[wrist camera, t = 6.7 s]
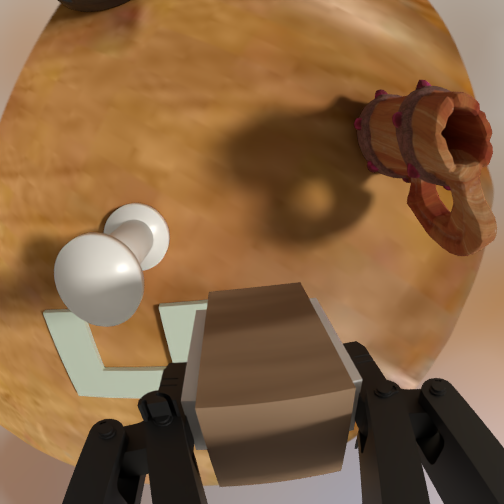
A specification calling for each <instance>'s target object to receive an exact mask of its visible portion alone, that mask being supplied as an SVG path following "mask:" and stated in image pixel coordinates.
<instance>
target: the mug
mask: <svg viewBox="0 0 504 504" xmlns="http://www.w3.org/2000/svg"><path fill="white" fill-rule="evenodd" d="M354 127H355V128H356V129H357V137H358V143H359V146H360V149H361V151H362V153H363V156H364V157H365V159H366V160H367V167H368V170H369V171H371V172H374V173H375V172H377V171H378V172H379V173H380V174H383V175H386V176H389V177H393V178H402V179H403V181H405V182H406V183H411V186H410V191H409V195H408V198H407V204H408V206H409V207H410V208H411V210H412V211H413V212H414V214H415V216H416V217H417V219H418V220H419V222H420V223H421V225H422V226H423V228H424V229H425V231H426V232H427V233H428V234H429V236H430V237H431V238H432V239H433V240H435V241H436V242H437V243H438V244H439V245H440V246H441V247H442V248H444V249H445V250H447V251H448V252H449V253H452V254H454V255H457V256H468V255H470V254H474V253H475V252H477V251H480V250H481V249H483V248H484V247H485V246H487V245H488V244H489V243H491V242H492V241H493V240H494V239H495V236H496V233H497V226H496V221H495V217H494V215H493V213H492V211H491V209H490V207H489V205H488V204H487V202H486V200H485V198H484V195H483V191H482V187H481V182H480V177H479V176H480V175H481V168H482V167H486V166H487V165H488V164H489V163H490V160H491V157H492V154H493V150H492V145H491V143H490V138H491V135H492V129H491V126H490V123H489V122H488V120H487V119H486V115H485V113H484V112H482V111H480V107H479V103H478V102H477V100H475V99H474V98H473V97H472V96H470V95H468V94H465V93H463V92H451V91H449V90H447V89H444V88H441V87H437V86H431V85H430V83H428V82H427V81H425V80H419V82H418V84H417V87H416V90H415V91H413V92H411V93H410V94H409V95H408V96H403V97H402V96H399V95H390V94H387V92H385V91H384V90H377V91H376V93H375V99H374V100H372V101H371V102H370V103H368V104H367V105H366V106H365V107H364V109H363V111H362V112H361V115H360V117H359V118H357V119H356V120H355V123H354ZM436 185H440V186H443V187H444V188H445V189H446V190H451V192H452V197H453V208H452V211H451V212H450V211H449V210H448V209H447V208H446V206H445V205H444V204H443V203H442V201H441V200H440V198H439V195H438V193H437V190H436Z"/></svg>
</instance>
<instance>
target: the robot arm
mask: <svg viewBox="0 0 504 504" xmlns="http://www.w3.org/2000/svg"><path fill="white" fill-rule="evenodd" d="M58 1H59V2H61V3H62V4H63V5H65V6H66V7H68V8H70V9H73V10H76V11H83V12H92V11H100V10H105V9H109V8H112V7H115V6H118V5H120V4H123V3H125V2H127V1H129V0H58ZM310 301H311V303H312V305H313V307H314V309H315V311H316V312H317V314H318V316H319V318H320V320H321V322H322V324H323V326H324V327H325V329H326V331H327V333H328V335H329V337H330V339H331V341H332V343H333V345H334V346H335V348H336V350H337V352H338V354H339V356H340V358H341V360H342V362H343V364H344V366H345V368H346V370H347V371H348V373H349V375H350V377H351V379H352V381H353V383H354V385H355V387H356V390H355V397H354V404H353V410H352V416H351V422H350V428H349V431H351V430H354V425H355V421H356V424H357V426H358V428H359V431H358V435H357V440H356V444H355V449H357V448H358V449H359V460H360V474H361V487H362V504H430V501H429V496H428V491H427V486H426V481H425V477H424V472H423V468H422V465H423V467H424V469H425V470H426V472H427V474H428V476H429V478H430V479H431V481H432V483H433V485H434V487H435V488H436V490H437V492H438V494H439V496H440V497H441V499H442V501H443V503H444V504H504V448H503V446H502V445H501V444H500V443H499V441H498V440H497V439H496V438H495V436H494V435H493V434H492V433H491V431H490V430H489V429H488V428H487V426H486V425H485V424H484V423H483V421H482V420H481V419H480V418H479V417H478V415H477V414H476V413H475V412H474V410H473V409H472V408H471V407H470V406H469V404H468V403H467V402H466V401H465V400H464V398H463V397H462V396H461V395H460V394H459V393H458V391H457V390H456V389H455V388H454V387H453V386H452V384H450V383H449V382H448V381H446V380H444V379H440V378H434V379H429V380H427V381H425V382H424V383H423V385H422V387H421V389H410V390H407V389H400V387H399V385H397V384H396V383H394V382H392V381H389V380H386V378H385V377H384V375H383V374H382V372H381V371H380V369H379V368H378V366H377V365H376V363H375V361H373V358H372V357H371V355H369V352H368V351H367V349H366V348H365V346H363V345H361V344H360V343H358V342H357V341H355V342H349V343H344V344H342V342H341V340H340V338H339V337H338V335H337V333H336V331H335V330H334V328H333V326H332V324H331V323H330V321H329V319H328V317H327V316H326V314H325V312H324V311H323V309H322V307H321V305H320V304H319V302H318V300H317V299H316V298H310ZM206 310H207V309H205V310H196V314H195V319H194V325H193V331H192V336H191V342H190V348H189V354H188V360H187V362H179V363H169V364H168V366H167V367H166V368H165V369H164V370H163V374H162V378H161V381H160V387H159V389H158V390H155V391H152V392H148V393H147V394H145V395H143V396H142V397H141V398H140V400H139V402H138V408H139V410H140V413H141V415H142V418H143V420H144V421H142V422H140V423H137V424H133V425H128V426H124V427H123V425H122V423H120V422H119V421H117V420H114V419H104V420H101V421H99V422H97V423H96V424H95V425H93V427H92V428H91V430H90V432H89V434H88V437H87V439H86V442H85V444H84V447H83V449H82V452H81V454H80V457H79V459H78V462H77V465H76V467H75V470H74V473H73V475H72V478H71V480H70V483H69V486H68V489H67V491H66V494H65V497H64V500H63V503H62V504H140V503H141V497H142V491H143V487H144V482H145V477H146V474H149V480H150V488H151V495H152V503H153V504H208V503H207V499H206V496H205V492H204V488H203V485H202V481H201V477H200V473H199V469H198V466H197V462H196V458H195V455H194V452H193V450H194V444H195V447H196V450H207V447H206V444H205V441H204V437H203V434H202V431H201V427H200V424H199V421H198V417H197V414H196V410H195V403H196V394H197V385H198V376H199V367H200V358H201V350H202V342H203V334H204V326H205V318H206ZM421 463H422V464H421Z"/></svg>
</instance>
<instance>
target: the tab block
mask: <svg viewBox="0 0 504 504" xmlns="http://www.w3.org/2000/svg"><path fill="white" fill-rule="evenodd" d="M355 390H356V387H355V385H354V383H353V381H352V379H351V377H350V375H349V373H348V371H347V370H346V368H345V366H344V364H343V362H342V360H341V358H340V356H339V354H338V352H337V350H336V348H335V346H334V345H333V343H332V341H331V339H330V337H329V335H328V333H327V331H326V329H325V327H324V326H323V324H322V322H321V320H320V318H319V316H318V314H317V312H316V311H315V309H314V307H313V305H312V303H311V301H310V299H309V298H308V296H307V294H306V292H305V290H304V288H303V286H302V285H301V283H300V282H298V283H290V284H281V285H272V286H263V287H253V288H244V289H234V290H224V291H213V292H209V295H208V303H207V310H206V318H205V326H204V334H203V342H202V350H201V358H200V367H199V376H198V385H197V394H196V403H195V410H196V414H197V417H198V421H199V424H200V427H201V431H202V434H203V437H204V441H205V444H206V447H207V450H208V453H209V456H210V460H211V463H212V466H213V469H214V472H215V475H216V477H217V480H218V483H219V486H220V487H226V486H242V485H254V484H263V483H273V482H281V481H287V480H294V479H301V478H306V477H312V476H318V475H323V474H328V473H333V472H337V471H341V469H342V464H343V459H344V454H345V449H346V444H347V439H348V434H349V428H350V422H351V416H352V410H353V404H354V397H355Z"/></svg>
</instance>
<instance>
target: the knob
mask: <svg viewBox="0 0 504 504" xmlns="http://www.w3.org/2000/svg"><path fill="white" fill-rule="evenodd" d="M169 241H170V234H169V228H168V225H167V223H166V221H165V219H164V218H163V216H162V215H161V214H160V213H159V212H158V211H157V210H156V209H154V208H153V207H151V206H149V205H146V204H143V203H130V204H126V205H124V206H122V207H120V208H118V209H117V210H116V211H114V212H113V213H112V214H111V215H110V217H109V218H108V220H107V222H106V224H105V228H104V233H99V232H89V233H85V234H82V235H79V236H77V237H76V238H74V239H73V240H71V241H70V242H68V243H67V244H66V245H65V246H64V247H63V248H62V249H61V251H60V252H59V254H58V256H57V259H56V262H55V267H54V278H55V284H56V288H57V290H58V293H59V295H60V297H61V299H62V300H63V302H64V304H65V305H66V306H67V307H68V308H69V310H70V311H71V312H72V313H74V314H75V315H76V316H77V317H79V318H80V319H82V320H84V321H86V322H88V323H90V324H93V325H97V326H107V327H108V326H115V325H119V324H121V323H123V322H125V321H127V320H128V319H129V318H130V317H131V316H132V315H133V314H134V313H135V311H136V309H137V308H138V306H139V304H140V302H141V299H142V297H143V293H144V275H143V270H147V269H150V268H152V267H154V266H155V265H157V264H158V263H159V262H160V261H161V260H162V258H163V257H164V255H165V253H166V251H167V249H168V246H169Z"/></svg>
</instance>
